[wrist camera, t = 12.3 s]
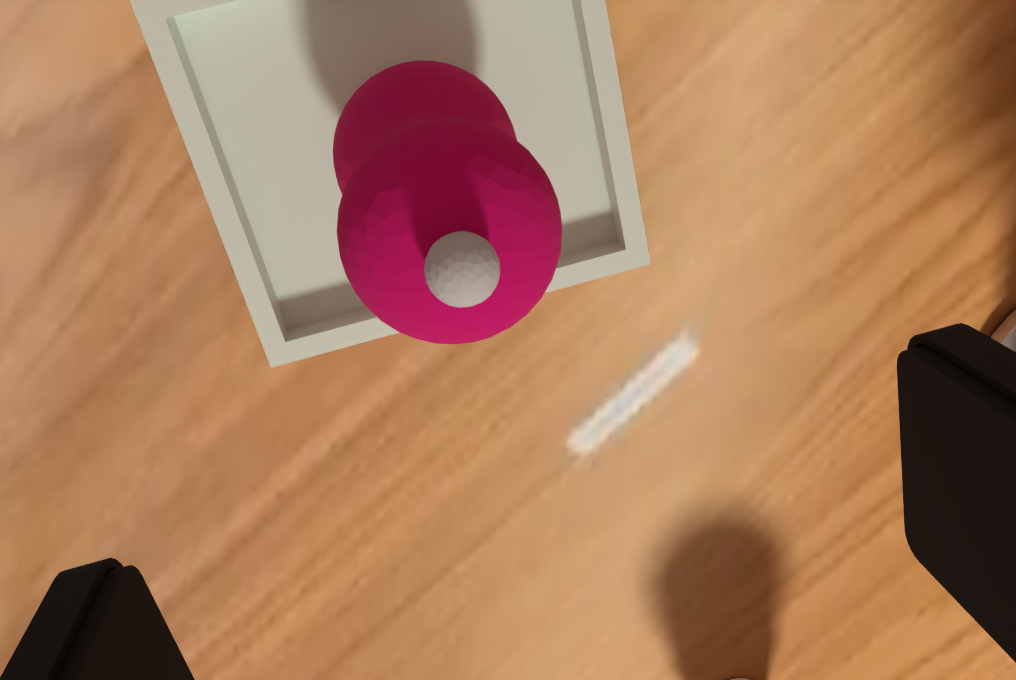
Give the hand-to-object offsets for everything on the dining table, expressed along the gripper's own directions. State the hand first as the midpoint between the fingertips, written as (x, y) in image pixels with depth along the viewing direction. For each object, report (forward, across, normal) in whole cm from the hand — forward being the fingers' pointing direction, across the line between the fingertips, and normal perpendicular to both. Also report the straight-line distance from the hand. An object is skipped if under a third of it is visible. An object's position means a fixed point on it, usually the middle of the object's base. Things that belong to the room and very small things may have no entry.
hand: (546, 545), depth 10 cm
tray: (+30, 0, 0) cm, 30 cm away
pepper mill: (+30, 0, 0) cm, 30 cm away
